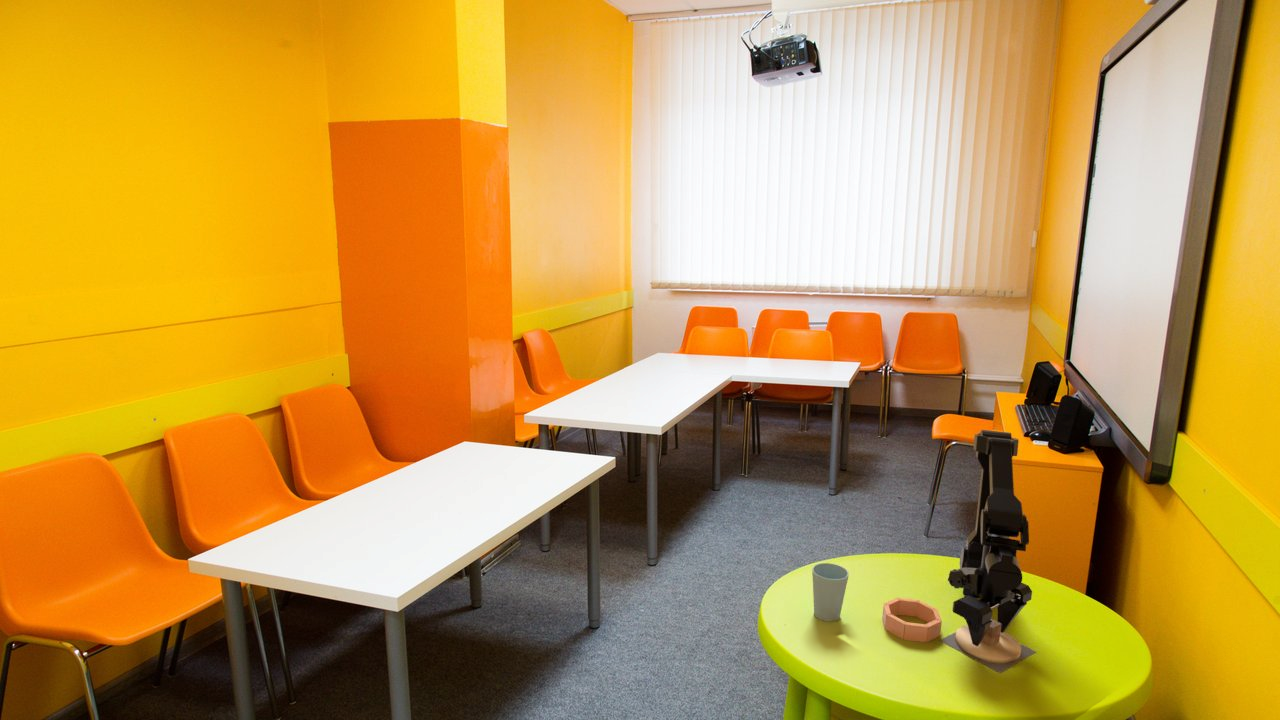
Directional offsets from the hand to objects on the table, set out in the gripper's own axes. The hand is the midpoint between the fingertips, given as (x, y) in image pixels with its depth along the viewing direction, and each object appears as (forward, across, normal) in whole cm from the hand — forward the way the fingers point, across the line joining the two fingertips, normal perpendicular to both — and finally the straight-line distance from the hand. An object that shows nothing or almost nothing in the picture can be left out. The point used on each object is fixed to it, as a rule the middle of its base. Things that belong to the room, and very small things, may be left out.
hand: (988, 638), depth 150 cm
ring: (+3, +7, -13) cm, 15 cm away
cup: (+3, +17, -27) cm, 32 cm away
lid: (+2, 0, 0) cm, 2 cm away
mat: (+3, 0, 0) cm, 3 cm away
